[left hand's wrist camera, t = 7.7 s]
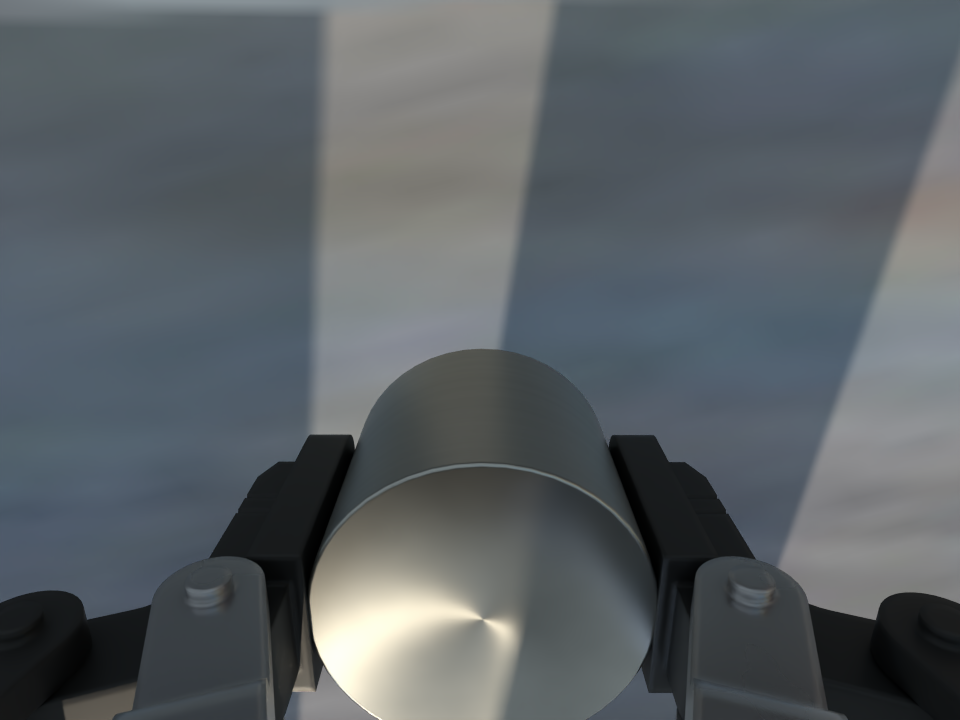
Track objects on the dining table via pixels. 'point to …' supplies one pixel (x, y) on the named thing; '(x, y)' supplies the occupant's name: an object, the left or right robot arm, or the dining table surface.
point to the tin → (482, 552)
